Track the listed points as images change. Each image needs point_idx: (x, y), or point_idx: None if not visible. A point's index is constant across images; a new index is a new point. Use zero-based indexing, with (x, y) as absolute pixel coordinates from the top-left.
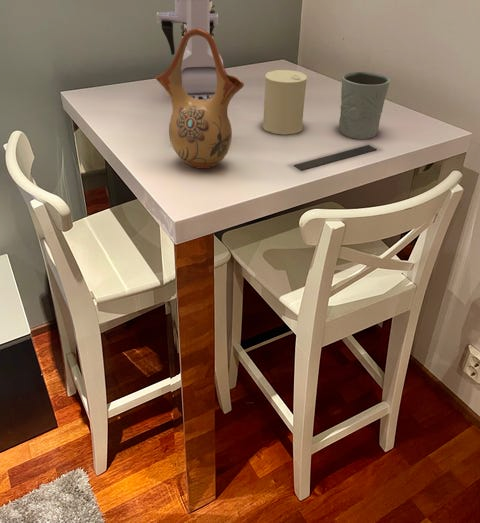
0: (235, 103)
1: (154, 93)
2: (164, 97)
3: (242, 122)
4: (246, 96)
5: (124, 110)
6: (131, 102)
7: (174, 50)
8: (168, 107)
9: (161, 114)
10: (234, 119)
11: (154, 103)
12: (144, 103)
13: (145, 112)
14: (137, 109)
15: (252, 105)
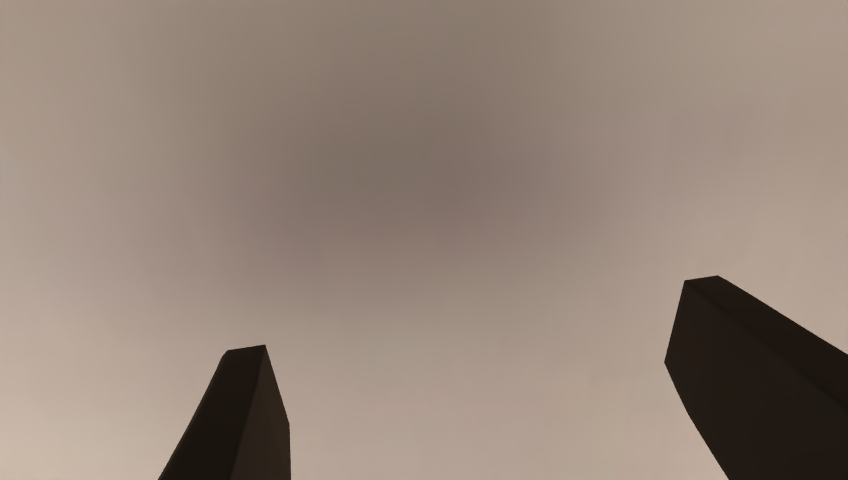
0: (723, 240)
1: (90, 117)
2: (214, 200)
3: (700, 466)
4: (836, 90)
5: (44, 451)
6: (9, 331)
7: (269, 382)
8: (301, 368)
9: None
10: (670, 445)
11: (184, 322)
12: (114, 333)
13: None
14: (117, 425)
15: (817, 257)
